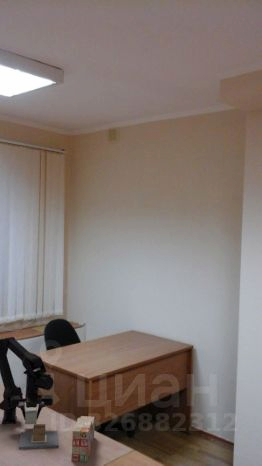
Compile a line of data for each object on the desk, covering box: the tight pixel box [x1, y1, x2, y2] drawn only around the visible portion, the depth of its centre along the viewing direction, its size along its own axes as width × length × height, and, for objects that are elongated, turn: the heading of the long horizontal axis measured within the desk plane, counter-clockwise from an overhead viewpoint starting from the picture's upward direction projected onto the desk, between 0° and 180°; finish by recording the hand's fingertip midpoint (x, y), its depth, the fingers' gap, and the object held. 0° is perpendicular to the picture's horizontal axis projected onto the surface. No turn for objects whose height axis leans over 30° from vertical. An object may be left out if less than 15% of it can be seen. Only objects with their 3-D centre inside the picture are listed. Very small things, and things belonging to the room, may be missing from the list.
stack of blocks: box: [71, 415, 96, 463], centre depth 180 cm, size 21×6×12 cm, turn 177°
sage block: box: [24, 407, 38, 425], centre depth 196 cm, size 5×5×5 cm
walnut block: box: [32, 423, 46, 441], centre depth 185 cm, size 5×5×5 cm
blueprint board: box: [18, 430, 59, 450], centre depth 185 cm, size 13×16×1 cm
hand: (30, 419), depth 196 cm, fingers closed on sage block, 5 cm apart
